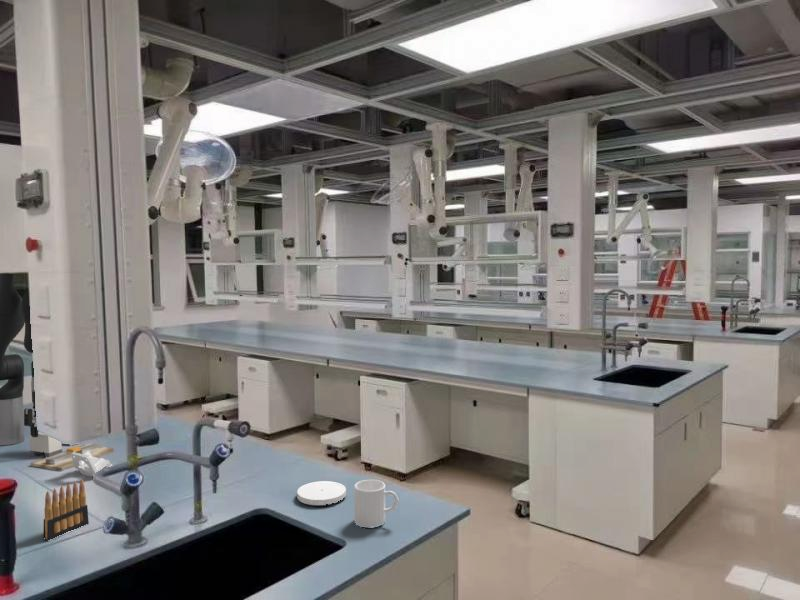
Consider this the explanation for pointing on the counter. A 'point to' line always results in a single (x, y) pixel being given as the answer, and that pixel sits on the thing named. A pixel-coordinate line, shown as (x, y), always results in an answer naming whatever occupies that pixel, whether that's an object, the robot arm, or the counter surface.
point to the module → (44, 445)
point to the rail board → (69, 462)
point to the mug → (371, 502)
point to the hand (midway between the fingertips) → (46, 433)
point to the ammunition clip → (65, 511)
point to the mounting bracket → (89, 463)
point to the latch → (73, 449)
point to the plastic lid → (321, 493)
